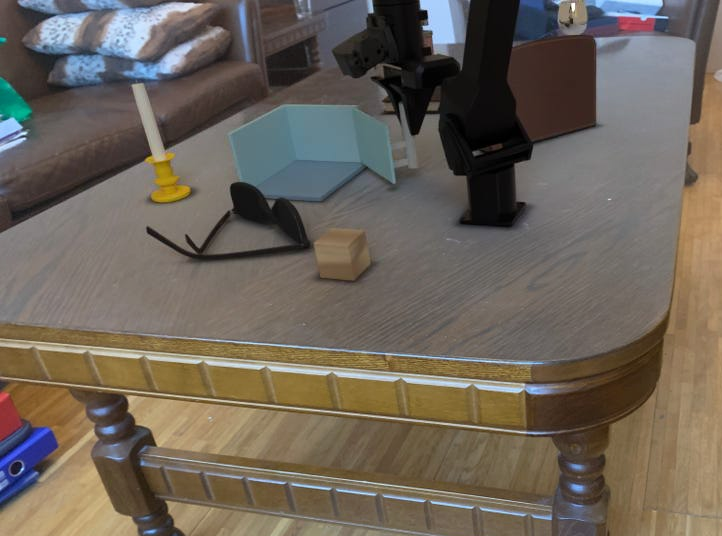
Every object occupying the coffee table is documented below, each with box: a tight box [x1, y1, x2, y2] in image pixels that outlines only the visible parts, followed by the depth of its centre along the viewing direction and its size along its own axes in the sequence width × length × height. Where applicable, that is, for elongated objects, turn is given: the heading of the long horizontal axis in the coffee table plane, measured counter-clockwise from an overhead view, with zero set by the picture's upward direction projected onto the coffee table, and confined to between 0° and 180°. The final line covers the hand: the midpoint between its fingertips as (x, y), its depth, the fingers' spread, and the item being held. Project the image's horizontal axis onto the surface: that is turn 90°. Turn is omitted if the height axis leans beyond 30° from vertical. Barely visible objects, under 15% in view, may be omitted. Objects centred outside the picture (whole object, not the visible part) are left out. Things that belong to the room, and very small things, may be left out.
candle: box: [131, 79, 192, 204], centre depth 101 cm, size 5×5×16 cm
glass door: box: [352, 102, 420, 185], centre depth 103 cm, size 12×4×10 cm, turn 29°
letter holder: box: [480, 34, 597, 153], centre depth 114 cm, size 10×20×14 cm, turn 123°
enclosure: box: [226, 103, 368, 203], centre depth 104 cm, size 14×12×9 cm
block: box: [313, 227, 372, 282], centre depth 80 cm, size 4×4×4 cm
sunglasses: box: [145, 181, 311, 261], centre depth 87 cm, size 17×14×5 cm
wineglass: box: [557, 0, 588, 36], centre depth 150 cm, size 6×6×12 cm
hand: (411, 133), depth 100 cm, fingers closed on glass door, 2 cm apart
